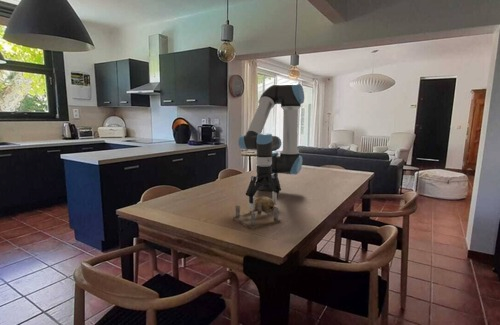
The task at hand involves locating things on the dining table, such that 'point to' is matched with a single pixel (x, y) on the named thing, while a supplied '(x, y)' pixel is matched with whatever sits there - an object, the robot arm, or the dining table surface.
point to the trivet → (256, 218)
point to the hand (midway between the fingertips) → (263, 207)
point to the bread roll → (264, 203)
